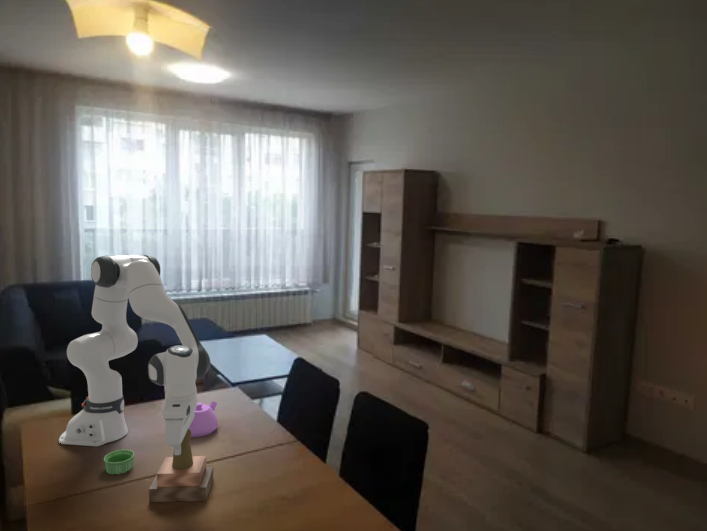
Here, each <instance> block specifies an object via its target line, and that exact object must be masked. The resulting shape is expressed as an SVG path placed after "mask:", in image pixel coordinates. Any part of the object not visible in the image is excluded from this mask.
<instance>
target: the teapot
mask: <svg viewBox="0 0 707 531" xmlns="http://www.w3.org/2000/svg"><path fill="white" fill-rule="evenodd" d="M216 406H217V402H216V401H213V400H211V402H210V404H206V403H202V402H197V407H196V408H195V416H194V419H193V421H192V423H191V425H190V431H191V438H202V437H206V436H209V435H210V434H213V433H214V431H216V429H217V428H218V425H219V423H218V418H217V415H216V413H215V410H216Z"/></svg>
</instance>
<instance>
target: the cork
mask: <svg viewBox="0 0 707 531" xmlns="http://www.w3.org/2000/svg"><path fill="white" fill-rule="evenodd" d="M191 438H192V437H191V431H190V429H188V431H187V433H186V435H185V437H184V439H183V441H182V443H181V447H182V452H181V454H180V455H175V454H174V453H173V456H172V457H173V462H172V467H173V468H174V469H177V470H182V469H187V468H189V467H191V466H192V465H193V458H192V456H193V452H192V448H191V447H192V446H191V440H190V439H191Z"/></svg>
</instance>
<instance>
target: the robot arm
mask: <svg viewBox="0 0 707 531" xmlns="http://www.w3.org/2000/svg"><path fill="white" fill-rule="evenodd" d="M90 276H91V280H92V282H93V283H94V284H95V286H94V292H93V300H92V306H91V317H92V318H93V319H94V321H96V322H97V323H99V324H101V330H100V331H96V332H92V333H87V334H83V335H82V336H79V337H77V338H75V339H73V340H71V341H70V342H69V343H68V345H67V348H66V356H67V360H68V361H69V362H70V364H72V365H73V366H74V367H77V368H78V369H80V370H81V371H82V372H83V375H84V376H85V378H86V381H87V382H86V383H87V392H88V393H87V394H88V396H86V397H85V398H86V399H84V401H83V403H81V407H82V409H81V410H80V411H79V412H78V413H77V414H75V415H74V416H73V417H72V418H71V419H69V421H68V423H67V425H66V429H65V431H63V432H62V434H61V435H60V436H59V439H58V443H59V444H60V443H61V444H60V445H73V446H84V447H85V446H87V447H99V446H103V445H104V444H107V443H111V442H115V441H118V440H120V439H121V438H124V437H125V436H127V434H128V433H129V428H128V426H127V424H126V419H125V413H124V411H125V399H124V394H123V380H122V379H123V378H122V375H121V374H120V372H118V371H117V370H113V369H112V368H110V365H109V361H112V360H115V359H119V358H122V357H125V356H126V355H128V354H130V353H133V351H135V350H136V349H137V347H138V343H139V342H138V340H139V339H138V334H137V332H135V330H133V328H131V327H130V326H129V324H128V322H127V308H128V302H129V305H130V307H131V309H132V312H133V313H134V314H136V315H137V316H138V317H139V318H142V319H143V320H144V319H145V320H148V321H153V322H158V323H162V324H165V325H168V326H169V327H171V328H172V329H174V331H175V333H176V335H177V336H178V338H179V341H180V342H181V345H178V344H177V345H173V346H170V347H168V348H167V349H166V351H164V352H158V353H155V354H153V356H151V357H150V359H149V361H148V362H147V375H148V379H149V380H150V381H151V382H152V383H154V384H155V385H157V386H164V387H165V393H164V398H165V400H164V408H163V410H162V419H164V431H165V434H164V435H165V442H166V445H167V446H168V447H172V448H173V454H175V455H180V454H181V452H182V447H181V443H182V441H183V439H184V437H185V435H186V433H187V431H188V429H190V425H191V423H192V421H193V419H194V416H195V408H196V407H197V403H198V388H197V386H196V381H197V379H198V380H199V379H202V378H203V377H204V376H206V374H207V373H208V371H209V369H210V368H211V358H210V356H209V354H208V351H207V350H206V348H204V346H203V344H202V343H201V341H200V340H199V337H198V336H197V333H196V332H195V330H194V327H193V326H192V324H191V322H190V320H189V318H188V316H187V314H186V312H185V310H184V308H183V307H182V306H181V305H180V304H179V303H177V302H176V301H174V300H173V299H172V298H171V297H170V296H169V294H168V293H167V292H166V289H165V286H164V283H163V281H162V278H161V265H160V263H159V260H158V259H157V258H156V257H155V256H151V255H146V254H144V255H142V254H127V253H126V254H123V255H122V254H117V255H110V256H109V255H101V256H97V257H96V258H95V259H94V260H93V261H92V263H91V267H90Z"/></svg>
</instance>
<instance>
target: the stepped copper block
mask: <svg viewBox="0 0 707 531" xmlns="http://www.w3.org/2000/svg"><path fill="white" fill-rule="evenodd" d="M192 458H193V465H192V466H191V467H189V468H187V469H182V470H177V469H174V468H173V467H172V462H173V456H165V458H164V460H163V462H162V463H161V466H160V467H159V469H158V471H157V472H156V475H155V477H154V479H153V481H152V483H151V484H150V485H149V486H150V487H149V489H148V502H149V503H165V502H166V503H167V502H194V501H195V502H196V501H198V502H199V501H207V500H208V496H209V493H210V490H211V487H212V485H213V484H212V483H213V481H214V466H212V465H211V466H207V456H206V455H196V456H195V455H194V456H193V455H192Z"/></svg>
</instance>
